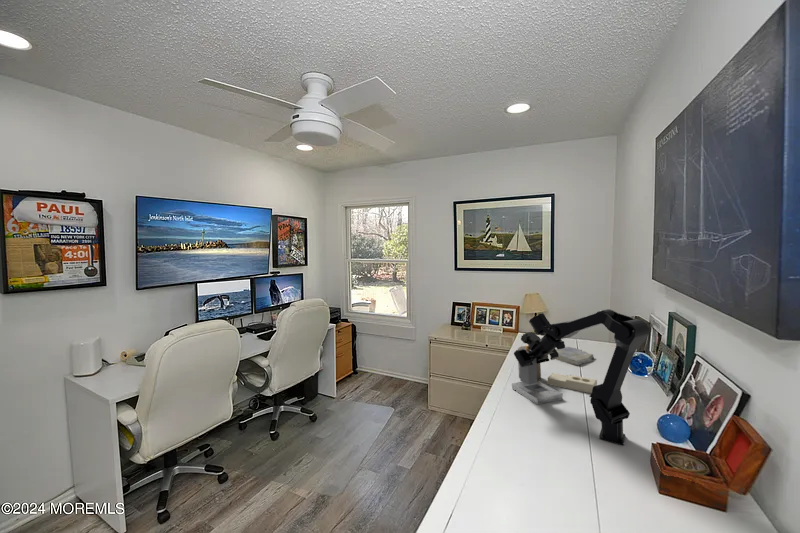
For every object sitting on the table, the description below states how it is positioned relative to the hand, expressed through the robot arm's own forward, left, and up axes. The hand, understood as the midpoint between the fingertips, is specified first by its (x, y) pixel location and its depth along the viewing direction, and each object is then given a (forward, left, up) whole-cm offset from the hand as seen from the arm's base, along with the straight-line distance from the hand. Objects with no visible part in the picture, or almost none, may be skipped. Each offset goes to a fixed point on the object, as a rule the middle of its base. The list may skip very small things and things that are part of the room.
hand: (525, 364), depth 137 cm
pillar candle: (+19, +4, -13) cm, 23 cm away
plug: (-1, -1, -7) cm, 7 cm away
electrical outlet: (+19, -14, -13) cm, 27 cm away
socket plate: (+3, -3, -12) cm, 13 cm away
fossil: (+59, -7, -13) cm, 61 cm away
